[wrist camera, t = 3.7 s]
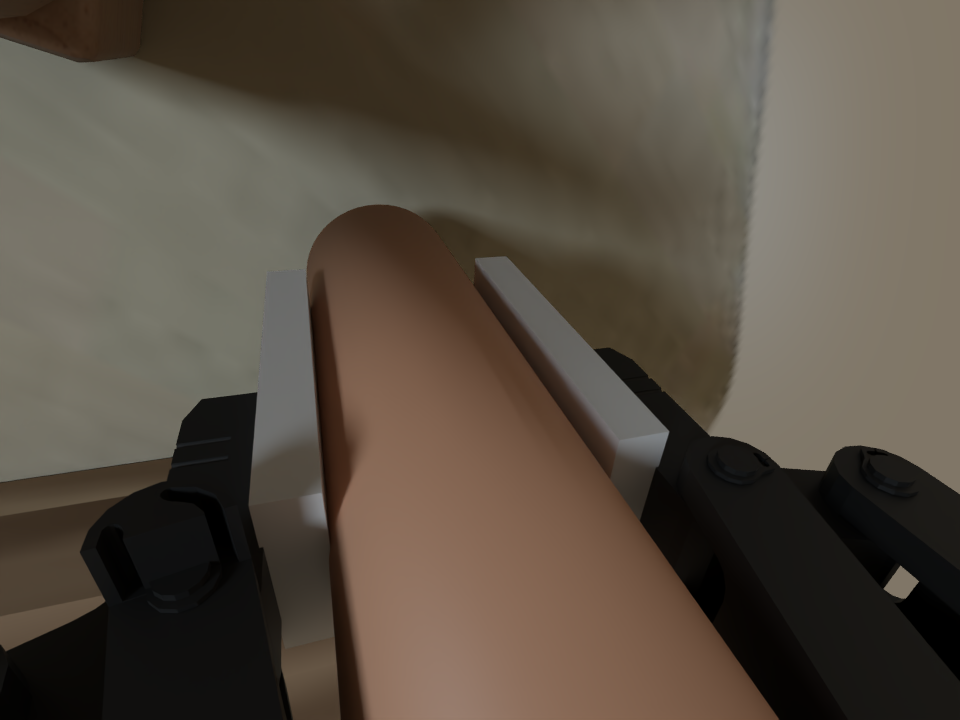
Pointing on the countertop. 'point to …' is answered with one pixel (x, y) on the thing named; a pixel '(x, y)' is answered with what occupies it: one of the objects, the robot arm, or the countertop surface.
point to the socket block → (71, 588)
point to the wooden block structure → (74, 27)
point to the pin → (481, 515)
